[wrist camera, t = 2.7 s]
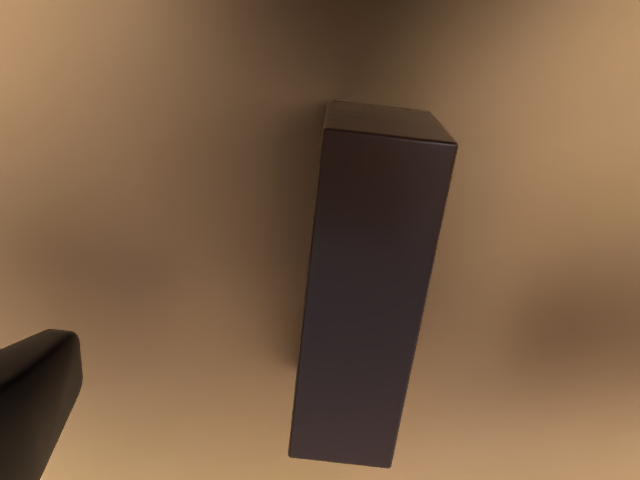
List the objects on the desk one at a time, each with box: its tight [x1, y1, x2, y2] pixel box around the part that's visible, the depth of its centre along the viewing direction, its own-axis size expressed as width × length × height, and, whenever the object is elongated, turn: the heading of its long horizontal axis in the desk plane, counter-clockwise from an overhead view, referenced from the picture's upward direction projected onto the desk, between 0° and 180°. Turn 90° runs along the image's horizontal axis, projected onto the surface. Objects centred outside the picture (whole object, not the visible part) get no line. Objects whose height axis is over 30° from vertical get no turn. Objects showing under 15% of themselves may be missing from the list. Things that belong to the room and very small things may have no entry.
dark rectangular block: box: [288, 100, 458, 468], centre depth 11 cm, size 7×2×3 cm, turn 174°
